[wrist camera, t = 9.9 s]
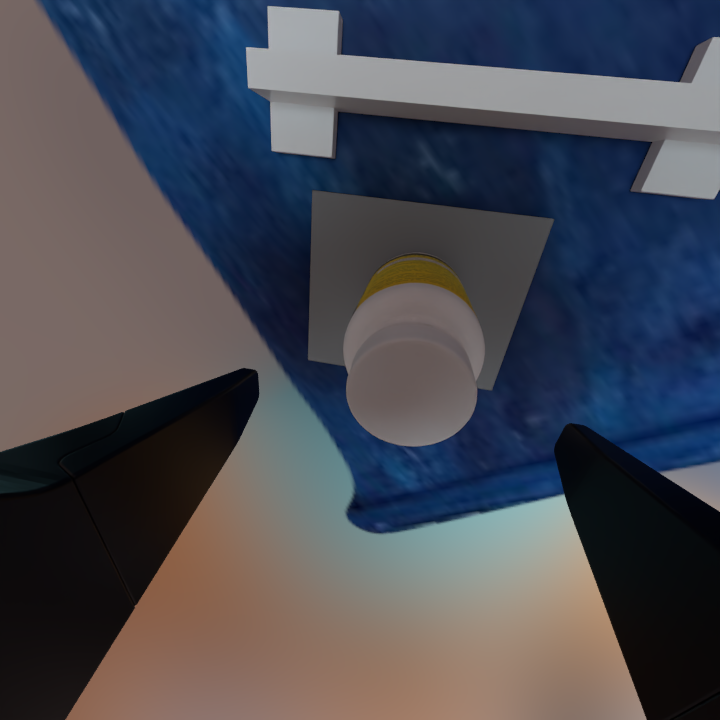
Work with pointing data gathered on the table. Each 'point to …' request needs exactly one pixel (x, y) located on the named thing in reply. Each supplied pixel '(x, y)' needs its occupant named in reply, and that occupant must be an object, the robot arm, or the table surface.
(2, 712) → the robot arm
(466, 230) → the slate mat
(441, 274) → the supplement bottle
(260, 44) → the table surface
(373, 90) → the white barrier
